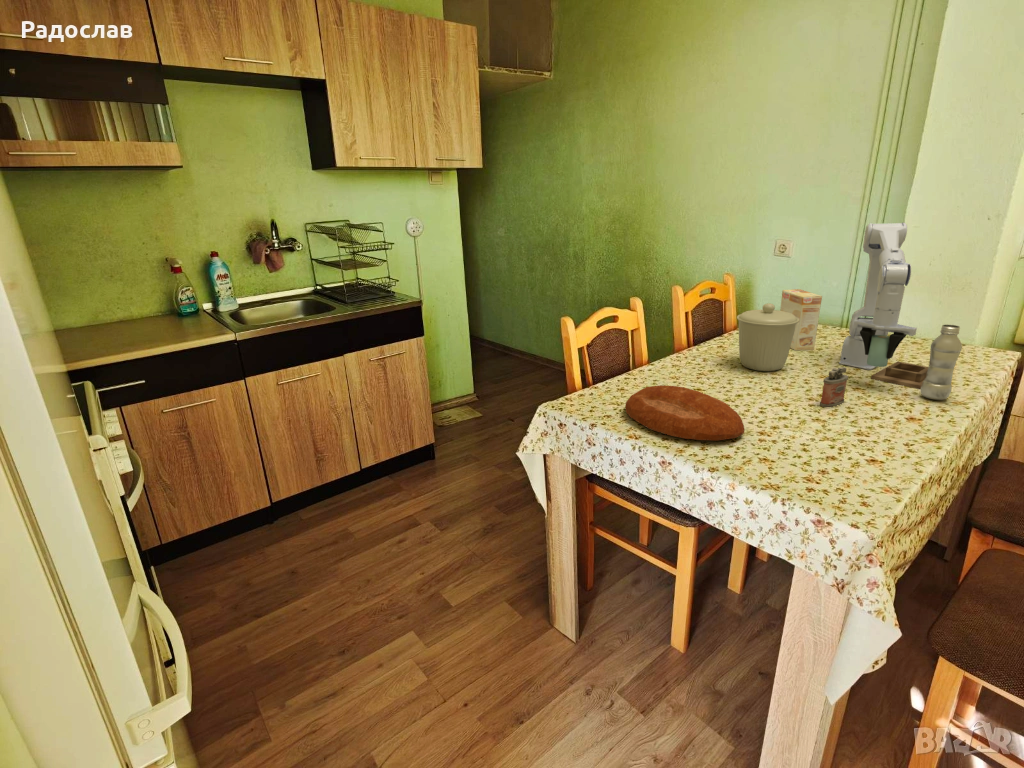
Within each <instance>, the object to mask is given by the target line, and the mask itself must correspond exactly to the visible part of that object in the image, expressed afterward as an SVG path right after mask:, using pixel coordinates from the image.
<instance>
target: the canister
mask: <svg viewBox="0 0 1024 768" xmlns="http://www.w3.org/2000/svg"><path fill="white" fill-rule="evenodd" d="M736 319H737V320H738V351H739V354H738V355H739V360H740V363H741V365H742V366H744V367H745V368H747V369H750V370H752V371H759V372H772V371H779V370H780V369H782V368H783V367H785V365H786V363H787V359H788V357H789V353H790V349H791V348H790V346H791V343H792V339H793V335H794V331H795V327H796V323H798V322H799V318H797V317H795V316H794V315H793V314H791V313H788V312H784V311H780V310H778V309H777V310H776V307H775V305H774V304H773V303H769V302H768V303H765V304H763V305H762V309H751V310H747V311H744V312H742V313H740V314H738V315H736Z"/></svg>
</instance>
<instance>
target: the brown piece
mask: <svg viewBox="0 0 1024 768" xmlns="http://www.w3.org/2000/svg"><path fill="white" fill-rule="evenodd" d="M928 367H929V366H925V365H921V364H920V365H919V364H914V363H910V362H903V361H896V362H894V363H892V364H890V365H887V366H885V367H884V368H882V369H880V370H879V371H877V372H875V373H874V374H871V376H870V379H871V380H874V379H875V380H876V381H879V380H880V381H881V382H884V383H889V384H894V385H899V386H903V385H904V387H908V386H909V387H908V388H913V389H917V388H918V390H921V385H922V383H923V381H924V379H925V376H926V373H927V370H928ZM875 380H874V381H875ZM880 381H879V382H880Z"/></svg>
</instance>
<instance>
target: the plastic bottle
mask: <svg viewBox="0 0 1024 768" xmlns="http://www.w3.org/2000/svg"><path fill="white" fill-rule="evenodd" d="M960 329H961V327H960V326H959V325H956V324H942V325H941V329H940V331H939V332H940V335H938V336H937V337H935V338H934V339H933V341H932V342H931V344H930V351H929V352H930V353H929V360H928V366H927V367H928V370H927V373H926V376H925V379H924V381H923V383H922V385H921V389H920V394H921V396H922V397H924V398H926V399H930V400H935V401H944V400H947V399H948V398H949V397H950V395H951V393H952V382H953V375H954V371H955V367H956V364H957V361H958V358H959V356H960V354H961V351H962V350H963V345H962V342H961V340H960V338H959V337H958V335H960Z"/></svg>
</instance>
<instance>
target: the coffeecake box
mask: <svg viewBox="0 0 1024 768" xmlns="http://www.w3.org/2000/svg"><path fill="white" fill-rule="evenodd" d="M781 292H782V293H781V300H780V301H781V302H780V307H779V308H780V309H779V311H784V312H788V313H791V314H793V315H794V316H795V317H797V318H799V322H798V323H796V327H795V331H794V335H793V339H792V343H791V346H790V349H792V350H794V351H814V350H815V344H816V338H817V332H818V325H819V321H820V320H819V318H820V313H821V305H822V301H823V299H822V298H823V295H820V294H818V293H817V294H816V293H813V292H810V291H807V290H803V289H799V288H797V289H795V288H794V289H782V291H781Z"/></svg>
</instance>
